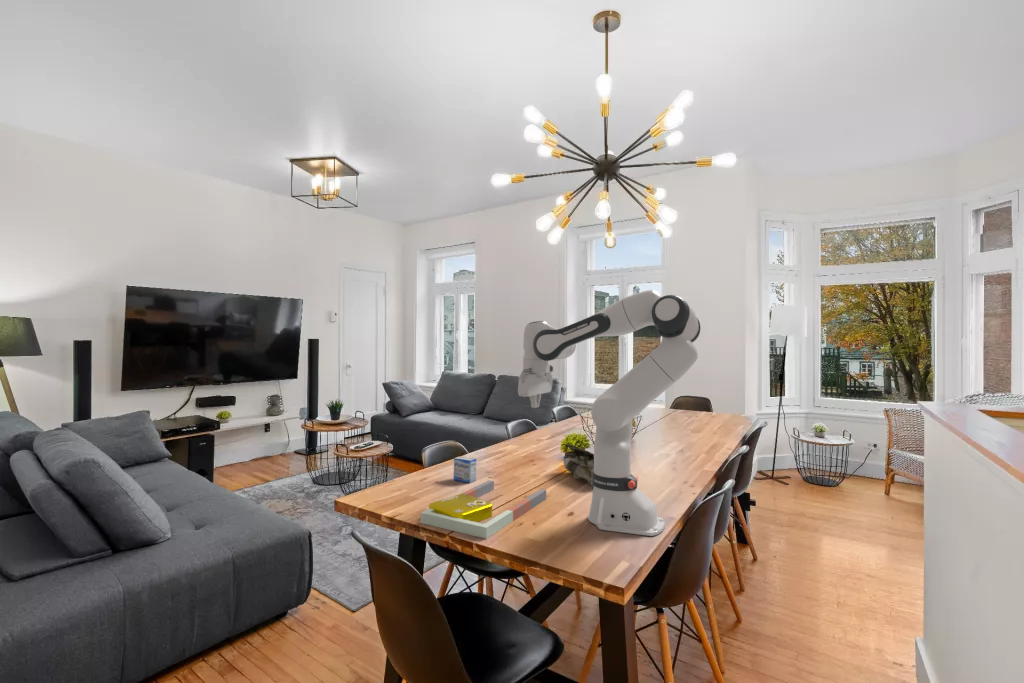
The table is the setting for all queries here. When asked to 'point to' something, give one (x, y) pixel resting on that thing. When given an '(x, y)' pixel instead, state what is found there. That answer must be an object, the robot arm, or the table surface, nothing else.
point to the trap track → (479, 528)
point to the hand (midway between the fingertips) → (535, 407)
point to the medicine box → (464, 469)
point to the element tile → (463, 508)
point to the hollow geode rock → (579, 463)
